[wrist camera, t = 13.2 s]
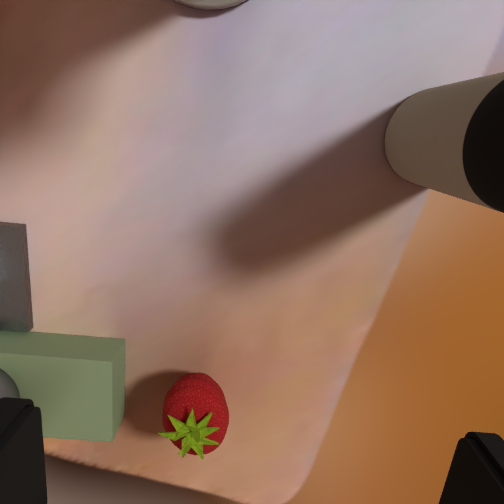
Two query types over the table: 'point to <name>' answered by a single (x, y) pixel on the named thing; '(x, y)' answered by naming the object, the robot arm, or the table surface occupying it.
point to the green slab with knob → (67, 381)
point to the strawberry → (195, 414)
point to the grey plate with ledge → (14, 279)
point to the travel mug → (453, 140)
